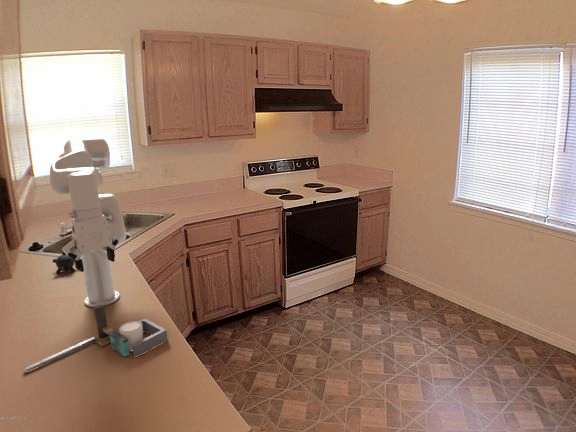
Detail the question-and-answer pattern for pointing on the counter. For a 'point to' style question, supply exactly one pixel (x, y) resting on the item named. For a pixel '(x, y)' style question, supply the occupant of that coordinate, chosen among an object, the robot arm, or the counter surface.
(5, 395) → the counter surface
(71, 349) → the rail
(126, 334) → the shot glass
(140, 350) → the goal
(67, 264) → the dark lidded pot
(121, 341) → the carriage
